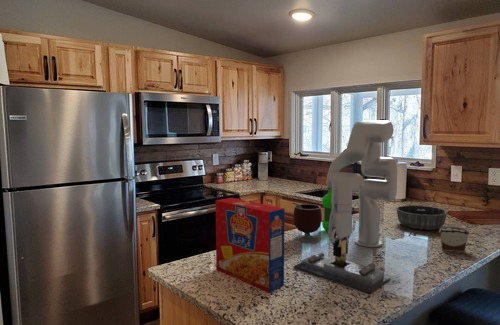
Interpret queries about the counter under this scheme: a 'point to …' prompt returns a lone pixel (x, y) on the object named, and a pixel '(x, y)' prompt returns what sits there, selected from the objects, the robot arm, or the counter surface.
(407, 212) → the bundt pan
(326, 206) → the plastic bottle
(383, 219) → the counter surface
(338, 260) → the brass pin
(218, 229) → the pasta box
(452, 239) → the food container
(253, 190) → the counter surface
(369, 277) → the gray slotted panel
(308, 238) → the mate gourd
